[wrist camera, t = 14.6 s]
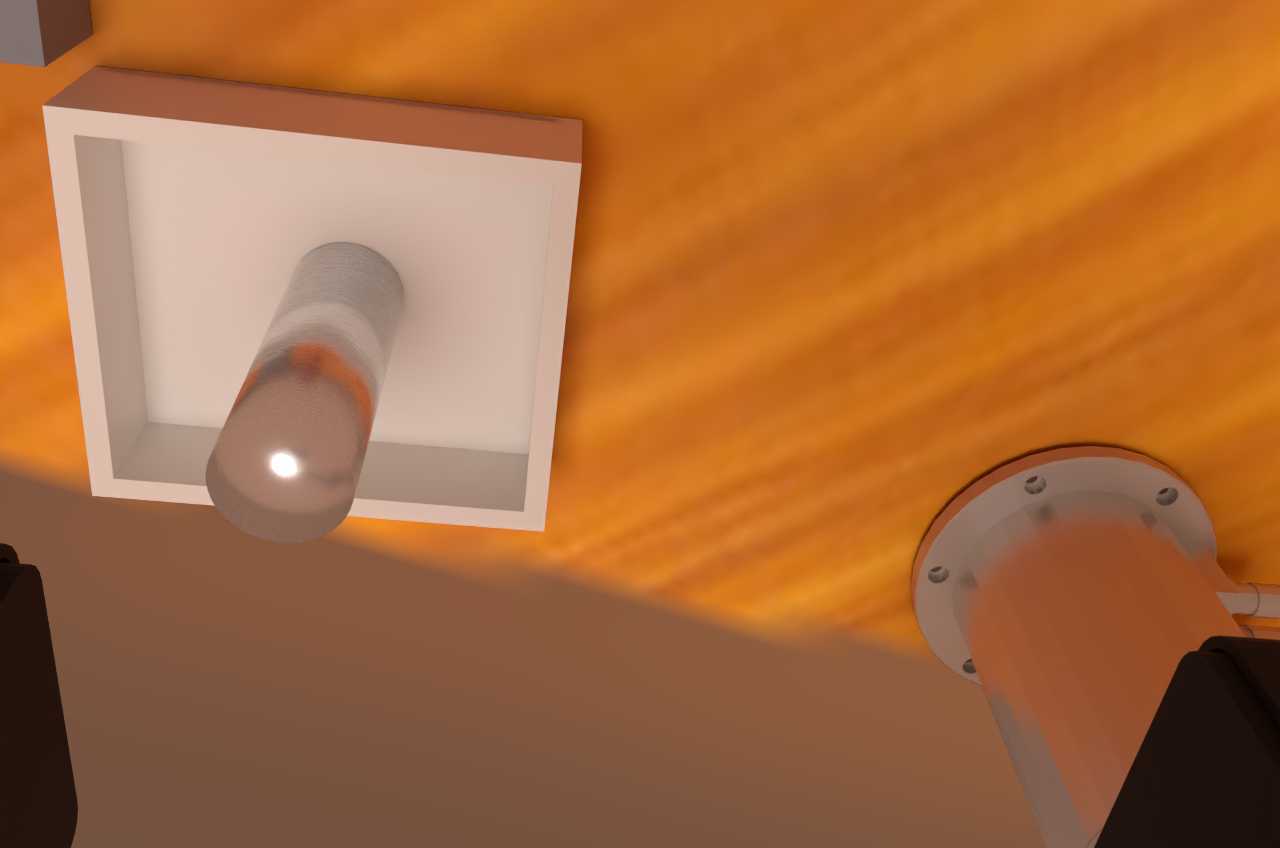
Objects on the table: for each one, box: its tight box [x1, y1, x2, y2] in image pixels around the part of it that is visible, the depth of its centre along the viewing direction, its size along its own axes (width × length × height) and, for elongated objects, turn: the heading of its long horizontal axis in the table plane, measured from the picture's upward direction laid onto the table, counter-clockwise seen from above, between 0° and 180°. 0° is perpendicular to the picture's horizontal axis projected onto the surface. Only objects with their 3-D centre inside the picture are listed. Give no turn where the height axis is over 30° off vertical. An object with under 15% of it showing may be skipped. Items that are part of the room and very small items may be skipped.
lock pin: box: [206, 243, 404, 543], centre depth 38 cm, size 4×4×12 cm
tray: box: [42, 66, 583, 532], centre depth 42 cm, size 16×14×4 cm
